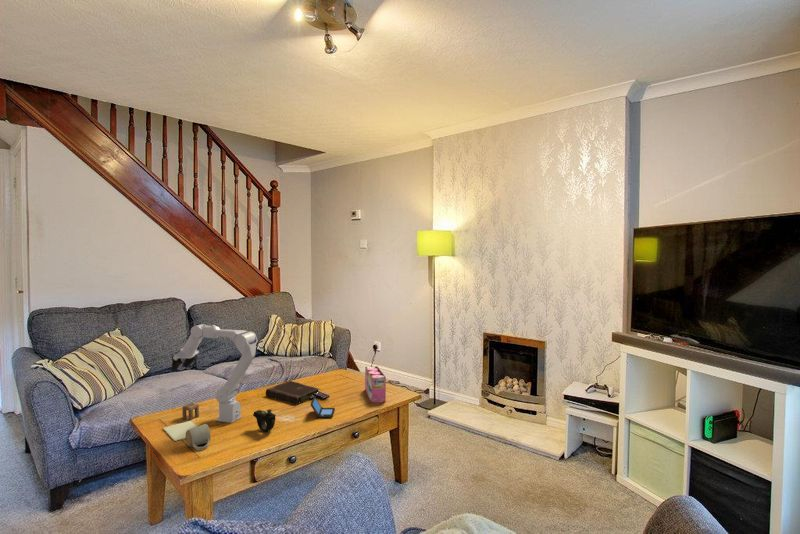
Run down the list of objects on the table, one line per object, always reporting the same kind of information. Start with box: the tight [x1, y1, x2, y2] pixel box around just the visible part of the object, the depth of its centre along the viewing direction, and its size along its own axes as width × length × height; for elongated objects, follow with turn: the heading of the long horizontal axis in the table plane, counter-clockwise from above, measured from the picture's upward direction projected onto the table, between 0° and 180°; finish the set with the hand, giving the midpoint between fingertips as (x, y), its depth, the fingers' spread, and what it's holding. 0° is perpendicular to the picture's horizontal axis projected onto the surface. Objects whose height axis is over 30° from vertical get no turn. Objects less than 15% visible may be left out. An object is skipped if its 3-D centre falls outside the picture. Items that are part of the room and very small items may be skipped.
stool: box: [182, 402, 200, 421], centre depth 211 cm, size 5×5×6 cm
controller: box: [252, 409, 277, 433], centre depth 196 cm, size 4×12×10 cm, turn 56°
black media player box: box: [265, 380, 321, 406], centre depth 243 cm, size 19×25×5 cm
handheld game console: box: [310, 396, 336, 419], centre depth 216 cm, size 12×11×7 cm
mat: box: [162, 420, 198, 442], centre depth 195 cm, size 18×12×1 cm, turn 43°
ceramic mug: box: [185, 423, 211, 451], centre depth 181 cm, size 11×8×8 cm
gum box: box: [364, 365, 387, 403], centre depth 245 cm, size 24×8×14 cm, turn 14°
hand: (179, 368), depth 215 cm, fingers open, 7 cm apart
